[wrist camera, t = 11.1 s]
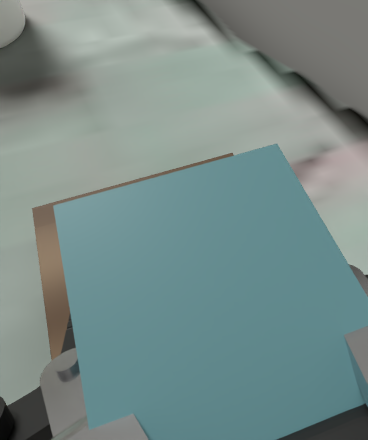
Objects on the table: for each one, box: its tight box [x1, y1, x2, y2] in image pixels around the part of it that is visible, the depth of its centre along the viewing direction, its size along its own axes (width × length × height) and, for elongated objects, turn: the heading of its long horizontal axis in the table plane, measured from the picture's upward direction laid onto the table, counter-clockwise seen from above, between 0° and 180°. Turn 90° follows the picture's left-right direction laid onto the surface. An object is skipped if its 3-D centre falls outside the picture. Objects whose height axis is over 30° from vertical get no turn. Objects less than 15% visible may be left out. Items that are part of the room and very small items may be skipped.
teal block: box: [53, 144, 368, 440], centre depth 10 cm, size 5×5×10 cm
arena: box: [32, 153, 234, 360], centre depth 18 cm, size 13×13×3 cm
